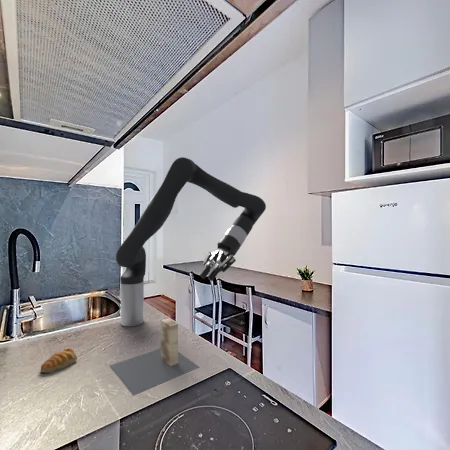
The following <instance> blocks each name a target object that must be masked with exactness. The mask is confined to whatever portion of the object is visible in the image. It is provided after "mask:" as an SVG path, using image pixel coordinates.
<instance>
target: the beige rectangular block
mask: <svg viewBox="0 0 450 450" xmlns="http://www.w3.org/2000/svg"><path fill="white" fill-rule="evenodd" d="M160 348H161V359H163V360H164V361H165V362H166V363H168V364H169V365H170V366H172V365H175V364H177V363H178V352H179V324H178V323H177V322H175V321H173V320H172V319H170V318H165V319H161V320H160Z"/></svg>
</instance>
